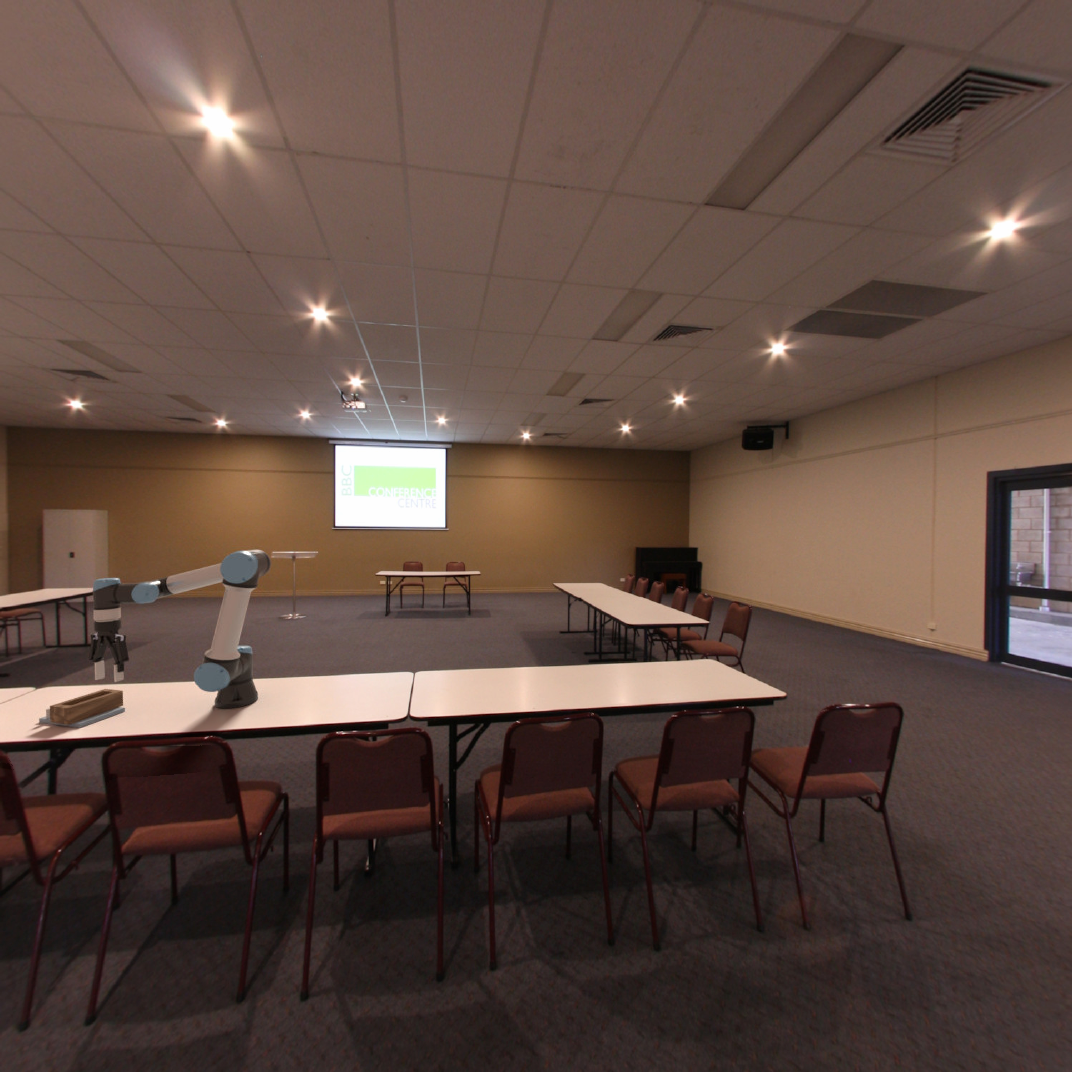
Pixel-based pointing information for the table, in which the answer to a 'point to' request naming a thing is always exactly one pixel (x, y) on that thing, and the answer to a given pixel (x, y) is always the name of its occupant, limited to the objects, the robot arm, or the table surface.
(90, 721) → the blue-grey board with posts
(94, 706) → the frame
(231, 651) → the robot arm
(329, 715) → the table surface
